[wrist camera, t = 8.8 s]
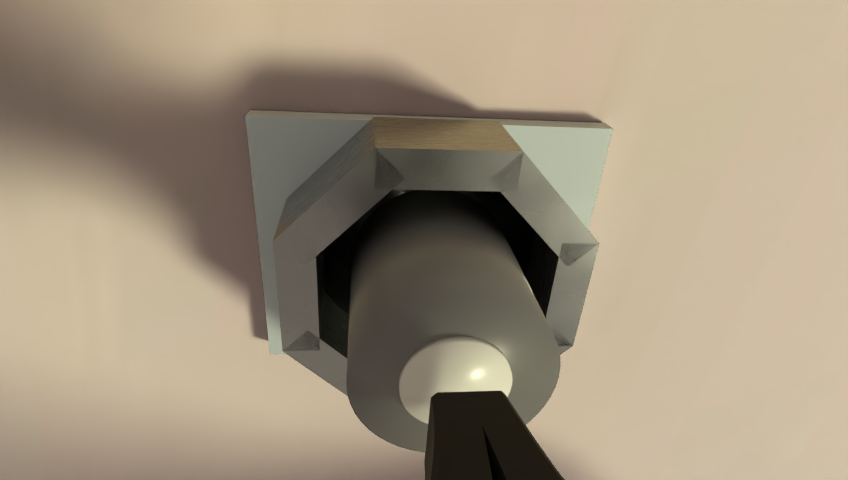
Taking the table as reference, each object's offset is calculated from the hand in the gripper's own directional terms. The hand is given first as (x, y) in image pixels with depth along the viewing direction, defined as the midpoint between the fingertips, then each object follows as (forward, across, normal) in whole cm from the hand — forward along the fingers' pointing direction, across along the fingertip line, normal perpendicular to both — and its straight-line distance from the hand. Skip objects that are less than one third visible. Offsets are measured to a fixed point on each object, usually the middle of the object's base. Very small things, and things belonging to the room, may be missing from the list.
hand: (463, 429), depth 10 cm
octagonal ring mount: (+7, 0, 0) cm, 7 cm away
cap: (+6, 0, 0) cm, 6 cm away
